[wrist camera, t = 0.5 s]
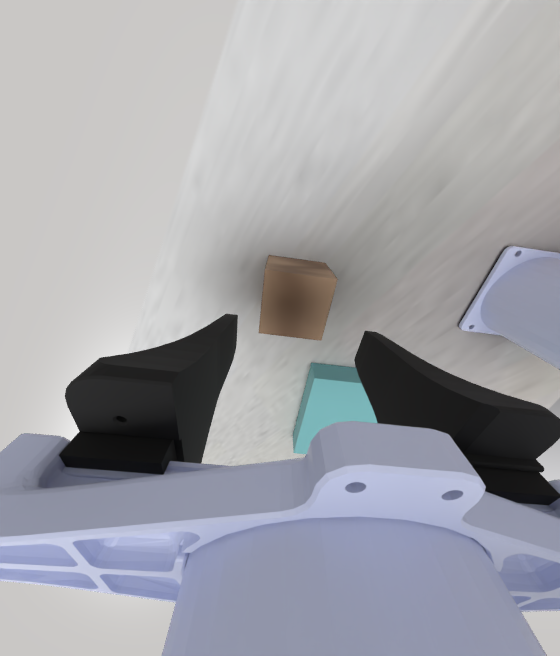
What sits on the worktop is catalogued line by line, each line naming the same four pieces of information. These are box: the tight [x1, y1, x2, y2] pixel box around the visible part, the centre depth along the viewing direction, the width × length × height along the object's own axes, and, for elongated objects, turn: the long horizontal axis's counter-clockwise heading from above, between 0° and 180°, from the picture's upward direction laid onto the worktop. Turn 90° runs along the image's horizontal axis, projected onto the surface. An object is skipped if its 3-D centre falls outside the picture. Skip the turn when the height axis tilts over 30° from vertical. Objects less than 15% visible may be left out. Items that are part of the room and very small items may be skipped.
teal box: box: [293, 363, 377, 454], centre depth 27 cm, size 13×13×3 cm
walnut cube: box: [259, 255, 338, 340], centre depth 18 cm, size 5×5×5 cm
